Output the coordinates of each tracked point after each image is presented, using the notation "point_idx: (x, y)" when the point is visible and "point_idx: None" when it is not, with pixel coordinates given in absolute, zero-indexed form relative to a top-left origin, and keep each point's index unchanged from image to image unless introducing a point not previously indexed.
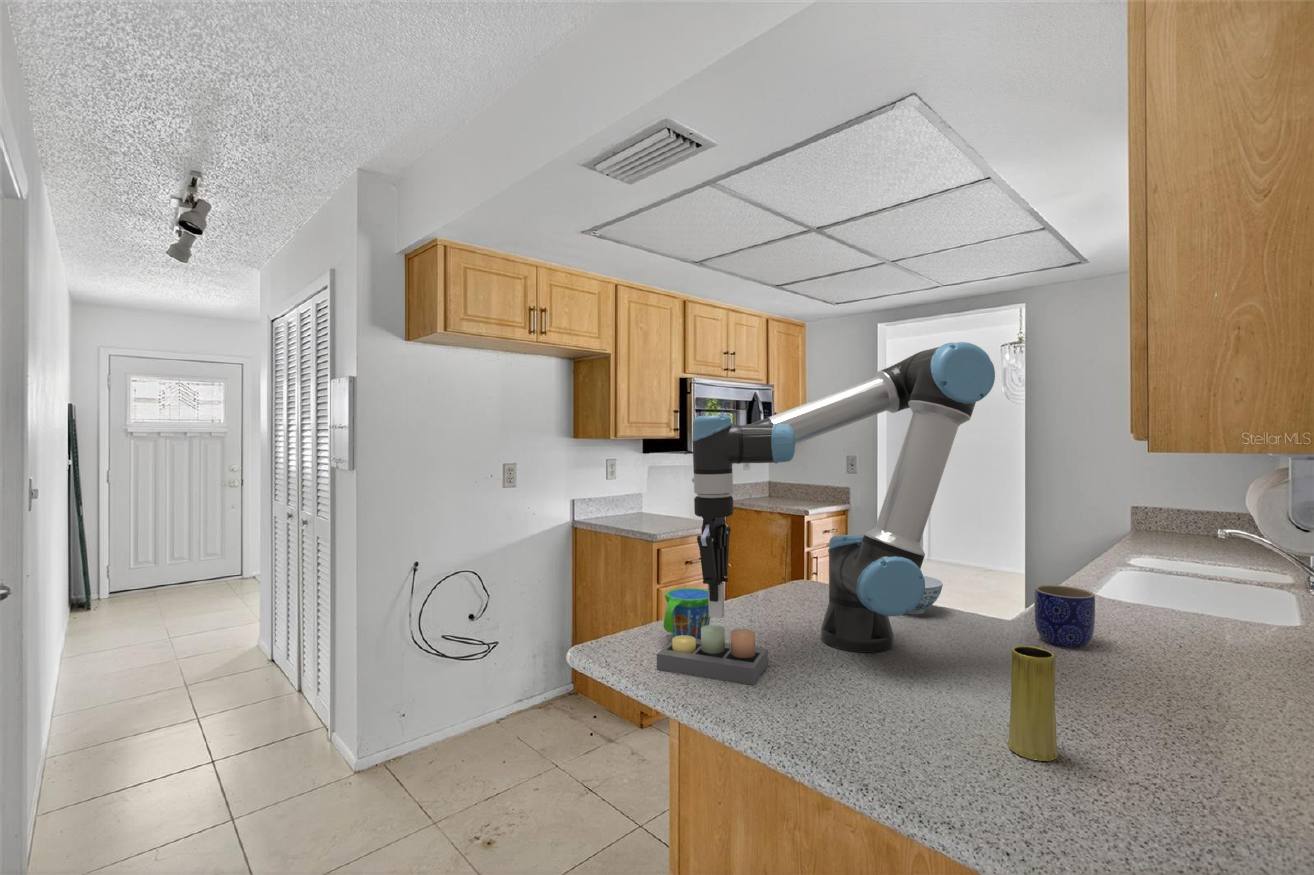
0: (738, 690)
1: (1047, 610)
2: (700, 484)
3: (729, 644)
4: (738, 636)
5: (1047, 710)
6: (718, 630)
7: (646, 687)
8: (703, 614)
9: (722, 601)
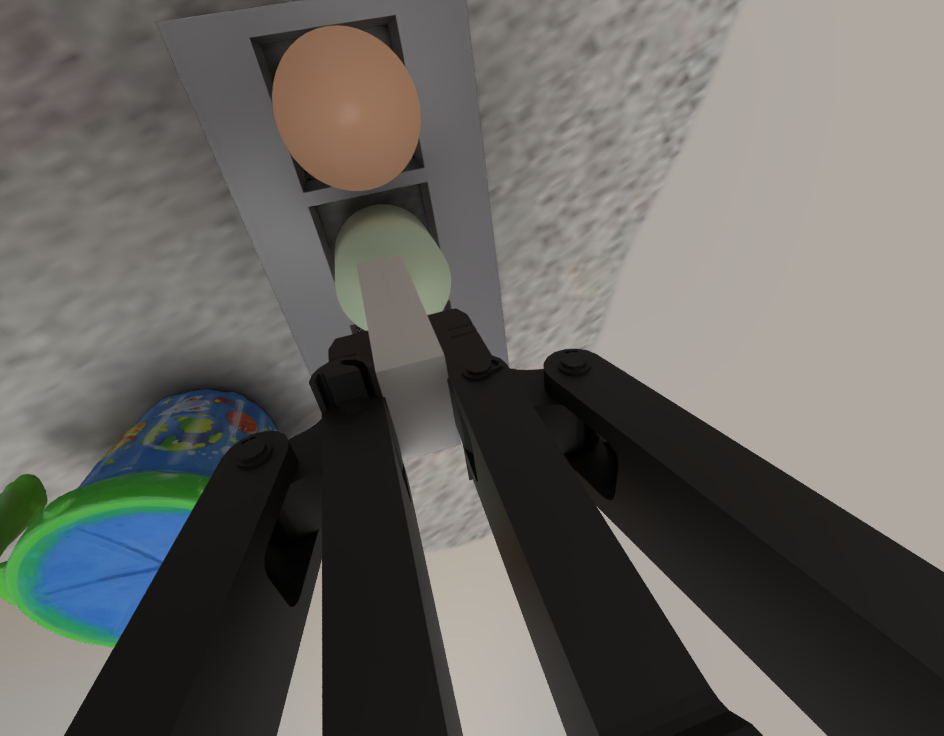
0: (517, 33)
1: None
2: None
3: (263, 238)
4: (419, 109)
5: None
6: (400, 251)
7: (608, 303)
8: (193, 450)
9: (396, 297)
